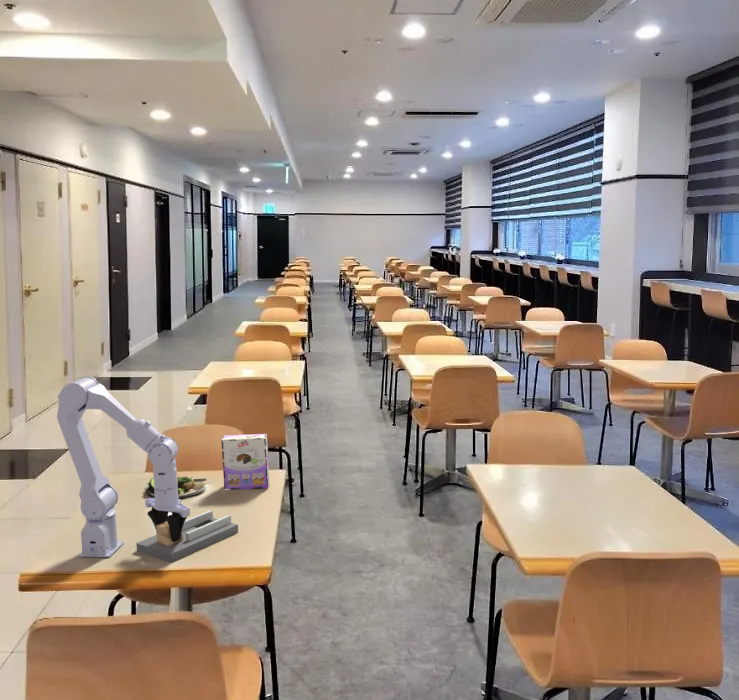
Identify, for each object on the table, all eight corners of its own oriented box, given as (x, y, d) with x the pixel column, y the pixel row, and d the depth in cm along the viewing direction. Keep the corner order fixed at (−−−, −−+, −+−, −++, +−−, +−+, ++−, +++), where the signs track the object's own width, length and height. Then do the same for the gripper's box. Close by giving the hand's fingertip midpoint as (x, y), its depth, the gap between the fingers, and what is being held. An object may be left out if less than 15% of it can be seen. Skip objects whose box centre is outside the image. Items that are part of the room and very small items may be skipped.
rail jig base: (204, 522, 220) (203, 508, 219) (238, 531, 213) (237, 517, 212) (136, 550, 202) (135, 535, 201) (171, 561, 194) (170, 546, 194)
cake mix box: (269, 483, 253) (267, 432, 251) (268, 489, 247) (265, 437, 245) (226, 484, 253) (223, 434, 250) (223, 490, 247) (220, 439, 244)
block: (171, 536, 205) (170, 519, 204) (182, 540, 202) (181, 523, 202) (157, 542, 201) (155, 525, 201) (168, 545, 199) (167, 528, 198)
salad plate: (196, 478, 261) (195, 464, 261) (220, 491, 247) (219, 477, 246) (138, 490, 250) (137, 476, 249) (160, 505, 236) (159, 490, 235)
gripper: (197, 487, 199) (200, 539, 201) (159, 478, 207) (162, 527, 209) (176, 495, 193) (179, 548, 195) (137, 485, 201) (140, 536, 203)
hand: (169, 538), depth 202 cm, fingers closed on block, 5 cm apart
